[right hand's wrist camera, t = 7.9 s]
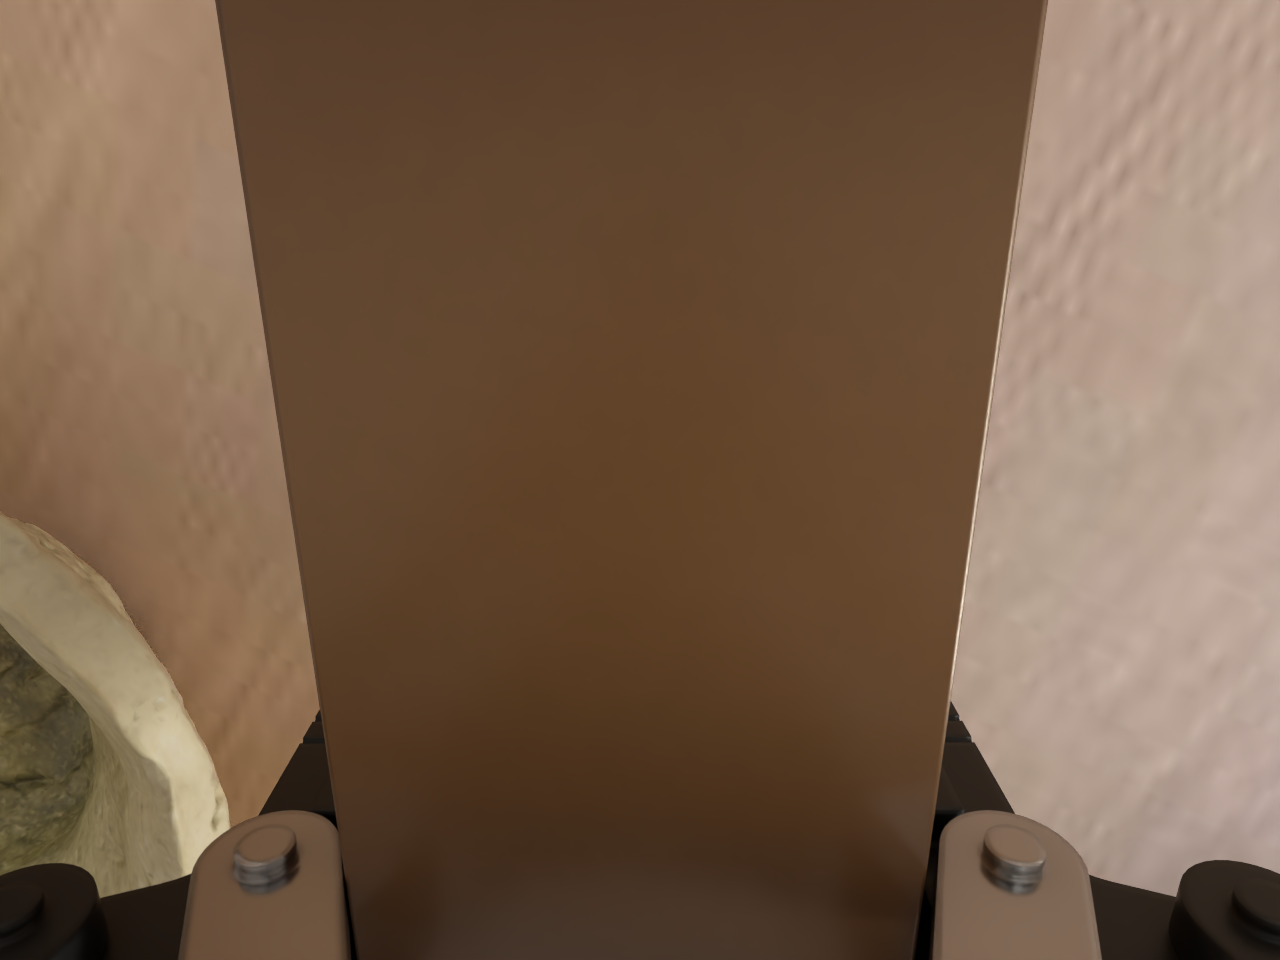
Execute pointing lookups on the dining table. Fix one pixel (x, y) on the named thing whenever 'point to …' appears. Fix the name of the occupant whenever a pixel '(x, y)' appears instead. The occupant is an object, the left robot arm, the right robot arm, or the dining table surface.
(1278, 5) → the dining table surface
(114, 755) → the bowl
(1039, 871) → the right robot arm
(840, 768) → the bar
